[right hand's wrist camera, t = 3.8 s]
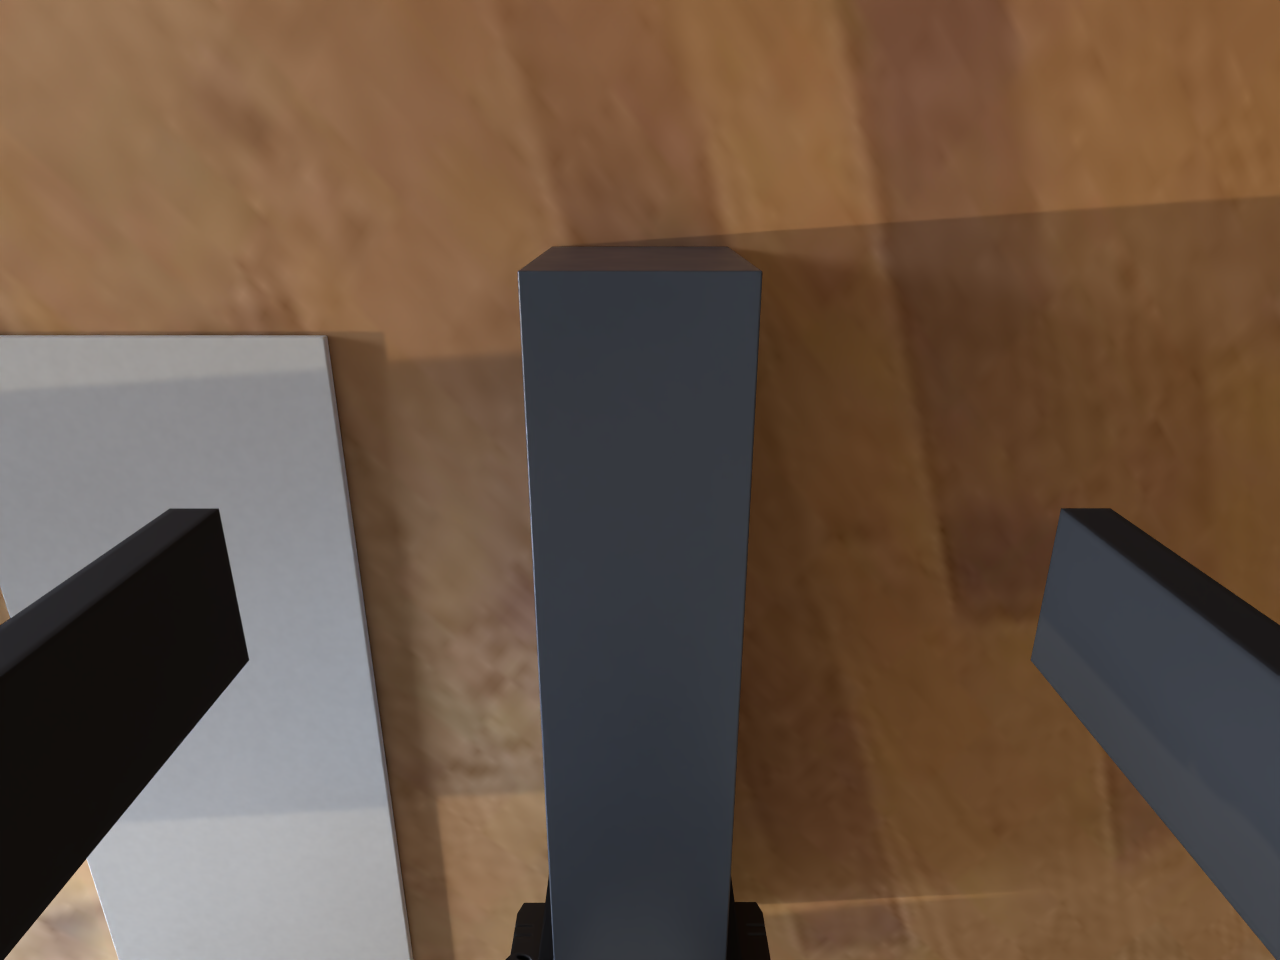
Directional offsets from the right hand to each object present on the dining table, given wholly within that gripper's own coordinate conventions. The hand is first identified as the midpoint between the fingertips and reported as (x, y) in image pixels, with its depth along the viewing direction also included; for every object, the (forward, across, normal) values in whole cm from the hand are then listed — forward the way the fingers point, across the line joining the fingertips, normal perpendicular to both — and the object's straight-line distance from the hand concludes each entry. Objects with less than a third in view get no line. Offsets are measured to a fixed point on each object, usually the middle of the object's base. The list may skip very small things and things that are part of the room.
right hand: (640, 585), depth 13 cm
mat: (+17, -18, -17) cm, 30 cm away
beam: (+17, 0, -11) cm, 20 cm away
